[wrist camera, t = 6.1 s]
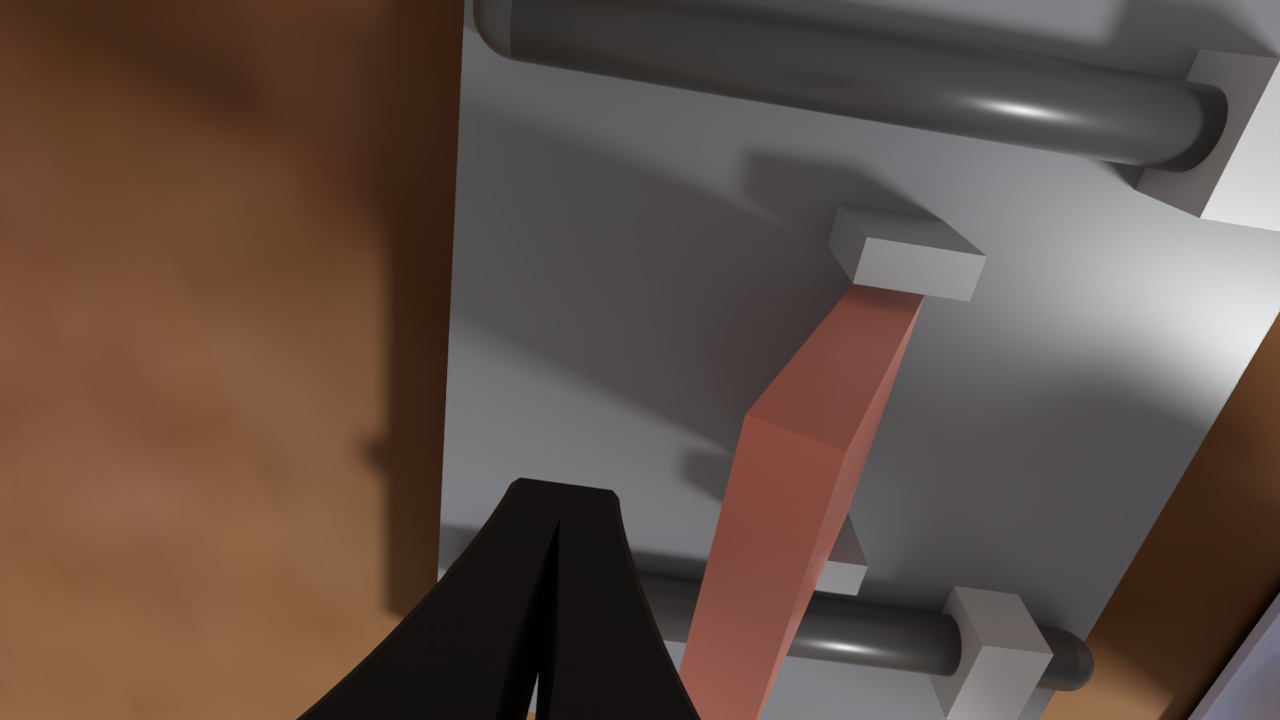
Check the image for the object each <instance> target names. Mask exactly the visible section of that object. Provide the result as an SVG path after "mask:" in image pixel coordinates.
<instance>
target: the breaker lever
mask: <svg viewBox="0 0 1280 720" xmlns="http://www.w3.org/2000/svg"><path fill="white" fill-rule="evenodd" d="M924 296H925V295H923V294H917V293H911V292H904V291H898V290H891V289H885V288H879V287H872V286H866V285H859V284H853V285H852V287H851V288H850V289H849V290H848V291H847V293H846V294H845V295H844V296H843V297H842V299H841V300H840V301H839V302H838V303H837V305H836V306H835V307H834V308H833V309H832V311H831V312H830V313H829V314H828V316H827V317H826V318H825V319H824V320H823V322H822V323H821V324H820V325H819V326H818V328H817V329H816V330H815V331H814V332H813V334H812V335H811V336H810V337H809V338H808V340H807V341H806V342H805V343H804V344H803V346H802V347H801V348H800V349H799V350H798V352H797V353H796V354H795V355H794V356H793V358H792V359H791V360H790V361H789V362H788V364H787V365H786V366H785V367H784V368H783V370H782V371H781V372H780V373H779V374H778V376H777V377H776V378H775V379H774V380H773V382H772V383H771V384H770V385H769V386H768V388H767V389H766V390H765V391H764V392H763V394H762V395H761V396H760V397H759V398H758V400H757V401H756V402H755V403H754V405H753V406H752V407H751V408H750V409H749V411H748V412H747V413H746V414H745V418H744V422H743V426H742V430H741V434H740V438H739V442H738V445H737V449H736V453H735V457H734V461H733V465H732V469H731V473H730V476H729V480H728V484H727V488H726V492H725V496H724V500H723V504H722V507H721V511H720V515H719V519H718V523H717V527H716V531H715V535H714V539H713V542H712V546H711V550H710V554H709V558H708V562H707V566H706V570H705V573H704V577H703V581H702V585H701V589H700V593H699V597H698V601H697V605H696V608H695V612H694V616H693V620H692V624H691V628H690V632H689V636H688V639H687V643H686V647H685V651H684V655H683V659H682V663H681V667H680V670H679V677H680V679H681V681H682V683H683V685H684V687H685V689H686V691H687V693H688V695H689V697H690V699H691V701H692V703H693V705H694V707H695V709H696V711H697V713H698V715H699V717H700V718H701V720H758V719H759V717H760V715H761V712H762V710H763V708H764V705H765V703H766V701H767V698H768V696H769V694H770V691H771V689H772V687H773V685H774V682H775V680H776V678H777V675H778V673H779V671H780V668H781V666H782V664H783V661H784V659H785V657H786V654H787V652H788V650H789V647H790V645H791V643H792V640H793V638H794V636H795V634H796V631H797V629H798V627H799V624H800V622H801V620H802V617H803V615H804V613H805V610H806V608H807V606H808V603H809V601H810V599H811V596H812V594H813V592H814V590H815V587H816V585H817V583H818V580H819V578H820V576H821V573H822V571H823V569H824V566H825V564H826V562H827V559H828V557H829V555H830V552H831V550H832V548H833V546H834V543H835V541H836V539H837V536H838V534H839V532H840V529H841V527H842V525H843V522H844V520H845V518H846V515H847V513H848V511H849V508H850V505H851V502H852V499H853V496H854V494H855V491H856V488H857V485H858V482H859V480H860V477H861V474H862V471H863V468H864V465H865V463H866V460H867V457H868V454H869V451H870V448H871V446H872V443H873V440H874V437H875V434H876V431H877V429H878V426H879V423H880V420H881V417H882V415H883V412H884V409H885V406H886V403H887V400H888V398H889V395H890V392H891V389H892V386H893V383H894V381H895V378H896V375H897V372H898V369H899V367H900V364H901V361H902V358H903V355H904V352H905V350H906V347H907V344H908V341H909V338H910V335H911V333H912V330H913V327H914V324H915V321H916V318H917V316H918V313H919V310H920V307H921V304H922V302H923V299H924Z"/></svg>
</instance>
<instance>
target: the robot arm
mask: <svg viewBox="0 0 1280 720" xmlns="http://www.w3.org/2000/svg"><path fill="white" fill-rule="evenodd" d="M537 677H538V687H537V701H536V716H535V720H701V718H700V717H699V715H698V713H697V711H696V709H695V707H694V705H693V703H692V701H691V699H690V697H689V695H688V693H687V691H686V689H685V687H684V685H683V683H682V681H681V679H680V677H679V674H678V672H677V670H676V668H675V666H674V663H673V661H672V659H671V657H670V655H669V652H668V650H667V648H666V646H665V644H664V641H663V639H662V636H661V634H660V632H659V629H658V627H657V624H656V622H655V619H654V617H653V614H652V611H651V609H650V606H649V603H648V601H647V598H646V596H645V593H644V590H643V588H642V585H641V582H640V579H639V576H638V573H637V570H636V567H635V564H634V561H633V558H632V554H631V551H630V547H629V544H628V540H627V537H626V533H625V529H624V524H623V520H622V514H621V508H620V499H619V497H618V496H617V495H616V494H615V492H614V491H613V490H609V489H601V488H594V487H587V486H580V485H573V484H565V483H558V482H551V481H544V480H536V479H529V478H522V477H520V478H518V479H517V480H515V481H513V482H512V483H511V484H510V485H509V487H508V489H507V491H506V493H505V494H504V496H503V498H502V499H501V501H500V502H499V504H498V505H497V507H496V508H495V510H494V511H493V513H492V514H491V516H490V517H489V519H488V520H487V521H486V523H485V524H484V525H483V527H482V528H481V529H480V531H479V532H478V533H477V535H476V536H475V537H474V539H473V540H472V541H471V543H470V544H469V545H468V546H467V548H466V549H465V550H464V551H463V552H462V554H461V555H460V556H459V557H458V558H457V560H456V561H455V562H454V563H453V565H452V566H451V567H450V568H449V569H448V571H447V572H446V573H445V574H444V575H443V577H442V578H441V579H440V580H439V581H438V583H437V584H436V585H435V586H434V587H433V588H432V589H431V591H430V592H429V593H428V594H427V595H426V596H425V597H424V598H423V599H422V600H421V601H420V602H419V603H418V604H417V605H416V607H415V608H414V609H413V610H412V611H411V612H410V613H409V614H408V615H407V616H406V617H405V618H404V619H403V620H402V621H401V623H400V624H399V625H398V626H397V627H396V628H395V629H394V630H393V631H392V632H391V633H390V634H389V635H388V636H387V637H386V638H385V639H384V640H383V641H382V642H381V643H380V644H379V645H378V646H377V647H376V648H375V649H374V650H373V651H372V652H371V653H370V654H369V655H368V656H367V657H366V658H365V659H364V660H363V661H362V662H361V663H360V664H358V665H357V666H356V667H355V668H354V669H353V670H352V671H351V672H350V673H349V674H348V675H347V676H346V677H344V678H343V679H342V680H341V681H340V682H339V683H338V684H337V685H336V686H334V687H333V688H332V689H331V690H330V691H329V692H328V693H327V694H326V695H325V696H323V697H322V698H321V699H320V700H319V701H318V702H317V703H315V704H314V705H313V706H312V707H311V708H310V709H308V710H307V711H306V712H305V713H304V714H302V715H301V716H300V717H299V718H298V719H296V720H526V719H527V715H528V711H529V707H530V704H531V700H532V696H533V692H534V688H535V685H536V681H537ZM1188 720H1280V593H1279V594H1278V595H1277V597H1276V598H1275V600H1274V601H1273V602H1272V604H1271V605H1270V606H1269V608H1268V609H1267V611H1266V612H1265V613H1264V615H1263V616H1262V618H1261V619H1260V620H1259V622H1258V623H1257V624H1256V626H1255V627H1254V629H1253V630H1252V631H1251V633H1250V634H1249V635H1248V637H1247V638H1246V640H1245V641H1244V642H1243V644H1242V645H1241V647H1240V648H1239V649H1238V651H1237V652H1236V653H1235V655H1234V656H1233V658H1232V659H1231V660H1230V662H1229V663H1228V664H1227V666H1226V667H1225V669H1224V670H1223V671H1222V673H1221V674H1220V676H1219V677H1218V678H1217V680H1216V681H1215V682H1214V684H1213V685H1212V687H1211V688H1210V689H1209V691H1208V692H1207V694H1206V695H1205V696H1204V698H1203V699H1202V700H1201V702H1200V703H1199V705H1198V706H1197V707H1196V709H1195V710H1194V711H1193V713H1192V714H1191V716H1190V717H1189V718H1188Z"/></svg>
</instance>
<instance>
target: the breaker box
mask: <svg viewBox="0 0 1280 720" xmlns="http://www.w3.org/2000/svg"><path fill="white" fill-rule="evenodd" d="M853 284H859V285H866V286H872V287H879V288H885V289H891V290H898V291H904V292H911V293H917V294H923V295H925V296H924V299H923V302H922V304H921V307H920V310H919V313H918V316H917V318H916V321H915V324H914V327H913V330H912V333H911V335H910V338H909V341H908V344H907V347H906V350H905V352H904V355H903V358H902V361H901V364H900V367H899V369H898V372H897V375H896V378H895V381H894V383H893V386H892V389H891V392H890V395H889V398H888V400H887V403H886V406H885V409H884V412H883V415H882V417H881V420H880V423H879V426H878V429H877V431H876V434H875V437H874V440H873V443H872V446H871V448H870V451H869V454H868V457H867V460H866V463H865V465H864V468H863V471H862V474H861V477H860V480H859V482H858V485H857V488H856V491H855V494H854V496H853V499H852V502H851V505H850V508H849V511H848V513H847V515H846V518H845V520H844V522H843V525H842V527H841V529H840V532H839V534H838V536H837V539H836V541H835V543H834V546H833V548H832V550H831V552H830V555H829V557H828V559H827V562H826V564H825V566H824V569H823V571H822V573H821V576H820V578H819V580H818V583H817V585H816V587H815V590H814V592H813V594H812V596H811V599H810V601H809V603H808V606H807V608H806V610H805V613H804V615H803V617H802V620H801V622H800V624H799V627H798V629H797V631H796V634H795V636H794V638H793V640H792V643H791V645H790V647H789V650H788V652H787V654H786V657H785V659H784V661H783V664H782V666H781V668H780V671H779V673H778V675H777V678H776V680H775V682H774V685H773V687H772V689H771V691H770V694H769V696H768V698H767V701H766V703H765V705H764V708H763V710H762V712H761V715H760V717H759V719H758V720H1039V718H1040V716H1041V715H1042V713H1043V711H1044V709H1045V708H1046V706H1047V704H1048V703H1049V701H1050V699H1051V698H1052V696H1053V694H1054V693H1055V691H1056V690H1057V691H1073V690H1077V689H1079V688H1081V687H1083V686H1084V685H1086V683H1087V682H1088V681H1089V680H1090V678H1091V676H1092V673H1093V669H1094V662H1093V657H1092V654H1091V652H1090V650H1089V648H1088V647H1087V645H1086V644H1085V643H1084V642H1085V640H1086V638H1087V637H1088V635H1089V633H1090V632H1091V630H1092V628H1093V626H1094V625H1095V623H1096V621H1097V620H1098V618H1099V616H1100V615H1101V613H1102V611H1103V609H1104V608H1105V606H1106V604H1107V603H1108V601H1109V599H1110V598H1111V596H1112V594H1113V593H1114V591H1115V589H1116V587H1117V586H1118V584H1119V582H1120V581H1121V579H1122V577H1123V576H1124V574H1125V572H1126V571H1127V569H1128V567H1129V565H1130V564H1131V562H1132V560H1133V559H1134V557H1135V555H1136V554H1137V552H1138V550H1139V548H1140V547H1141V545H1142V543H1143V542H1144V540H1145V538H1146V537H1147V535H1148V533H1149V532H1150V530H1151V528H1152V526H1153V525H1154V523H1155V521H1156V520H1157V518H1158V516H1159V515H1160V513H1161V511H1162V510H1163V508H1164V506H1165V504H1166V503H1167V501H1168V499H1169V498H1170V496H1171V494H1172V493H1173V491H1174V489H1175V487H1176V486H1177V484H1178V482H1179V481H1180V479H1181V477H1182V476H1183V474H1184V472H1185V471H1186V469H1187V467H1188V465H1189V464H1190V462H1191V460H1192V459H1193V457H1194V455H1195V454H1196V452H1197V450H1198V449H1199V447H1200V445H1201V443H1202V442H1203V440H1204V438H1205V437H1206V435H1207V433H1208V432H1209V430H1210V428H1211V426H1212V425H1213V423H1214V421H1215V420H1216V418H1217V416H1218V415H1219V413H1220V411H1221V410H1222V408H1223V406H1224V404H1225V403H1226V401H1227V399H1228V398H1229V396H1230V394H1231V393H1232V391H1233V389H1234V388H1235V386H1236V384H1237V382H1238V381H1239V379H1240V377H1241V376H1242V374H1243V372H1244V371H1245V369H1246V367H1247V365H1248V364H1249V362H1250V360H1251V359H1252V357H1253V355H1254V354H1255V352H1256V350H1257V349H1258V347H1259V345H1260V343H1261V342H1262V340H1263V338H1264V337H1265V335H1266V333H1267V332H1268V330H1269V328H1270V326H1271V325H1272V323H1273V321H1274V320H1275V318H1276V316H1277V315H1278V313H1279V311H1280V0H465V5H464V26H463V48H462V69H461V91H460V112H459V133H458V155H457V176H456V197H455V219H454V240H453V262H452V283H451V304H450V326H449V347H448V368H447V390H446V411H445V433H444V454H443V475H442V497H441V518H440V539H439V561H438V581H439V580H440V579H441V578H442V577H443V575H444V574H445V573H446V572H447V571H448V569H449V568H450V567H451V566H452V565H453V563H454V562H455V561H456V560H457V558H458V557H459V556H460V555H461V554H462V552H463V551H464V550H465V549H466V548H467V546H468V545H469V544H470V543H471V541H472V540H473V539H474V537H475V536H476V535H477V533H478V532H479V531H480V529H481V528H482V527H483V525H484V524H485V523H486V521H487V520H488V519H489V517H490V516H491V514H492V513H493V511H494V510H495V508H496V507H497V505H498V504H499V502H500V501H501V499H502V498H503V496H504V494H505V493H506V491H507V489H508V487H509V485H510V484H511V483H512V482H513V481H515V480H517V479H518V478H520V477H522V478H529V479H536V480H544V481H551V482H558V483H565V484H573V485H580V486H587V487H594V488H601V489H609V490H613V491H614V492H615V494H616V495H617V496H618V497H619V499H620V508H621V514H622V520H623V524H624V529H625V533H626V537H627V540H628V544H629V547H630V551H631V554H632V558H633V561H634V564H635V567H636V570H637V573H638V576H639V579H640V582H641V585H642V588H643V590H644V593H645V596H646V598H647V601H648V603H649V606H650V609H651V611H652V614H653V617H654V619H655V622H656V624H657V627H658V629H659V632H660V634H661V636H662V639H663V641H664V644H665V646H666V648H667V650H668V652H669V655H670V657H671V659H672V661H673V663H674V666H675V668H676V670H677V672H678V674H679V670H680V667H681V663H682V659H683V655H684V651H685V647H686V643H687V639H688V636H689V632H690V628H691V624H692V620H693V616H694V612H695V608H696V605H697V601H698V597H699V593H700V589H701V585H702V581H703V577H704V573H705V570H706V566H707V562H708V558H709V554H710V550H711V546H712V542H713V539H714V535H715V531H716V527H717V523H718V519H719V515H720V511H721V507H722V504H723V500H724V496H725V492H726V488H727V484H728V480H729V476H730V473H731V469H732V465H733V461H734V457H735V453H736V449H737V445H738V442H739V438H740V434H741V430H742V426H743V422H744V418H745V414H746V413H747V412H748V411H749V409H750V408H751V407H752V406H753V405H754V403H755V402H756V401H757V400H758V398H759V397H760V396H761V395H762V394H763V392H764V391H765V390H766V389H767V388H768V386H769V385H770V384H771V383H772V382H773V380H774V379H775V378H776V377H777V376H778V374H779V373H780V372H781V371H782V370H783V368H784V367H785V366H786V365H787V364H788V362H789V361H790V360H791V359H792V358H793V356H794V355H795V354H796V353H797V352H798V350H799V349H800V348H801V347H802V346H803V344H804V343H805V342H806V341H807V340H808V338H809V337H810V336H811V335H812V334H813V332H814V331H815V330H816V329H817V328H818V326H819V325H820V324H821V323H822V322H823V320H824V319H825V318H826V317H827V316H828V314H829V313H830V312H831V311H832V309H833V308H834V307H835V306H836V305H837V303H838V302H839V301H840V300H841V299H842V297H843V296H844V295H845V294H846V293H847V291H848V290H849V289H850V288H851V287H852V285H853ZM437 583H438V582H437ZM537 687H538V677H537V681H536V685H535V688H534V692H533V696H532V700H531V704H530V707H529V711H528V712H533V713H536V701H537Z"/></svg>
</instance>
